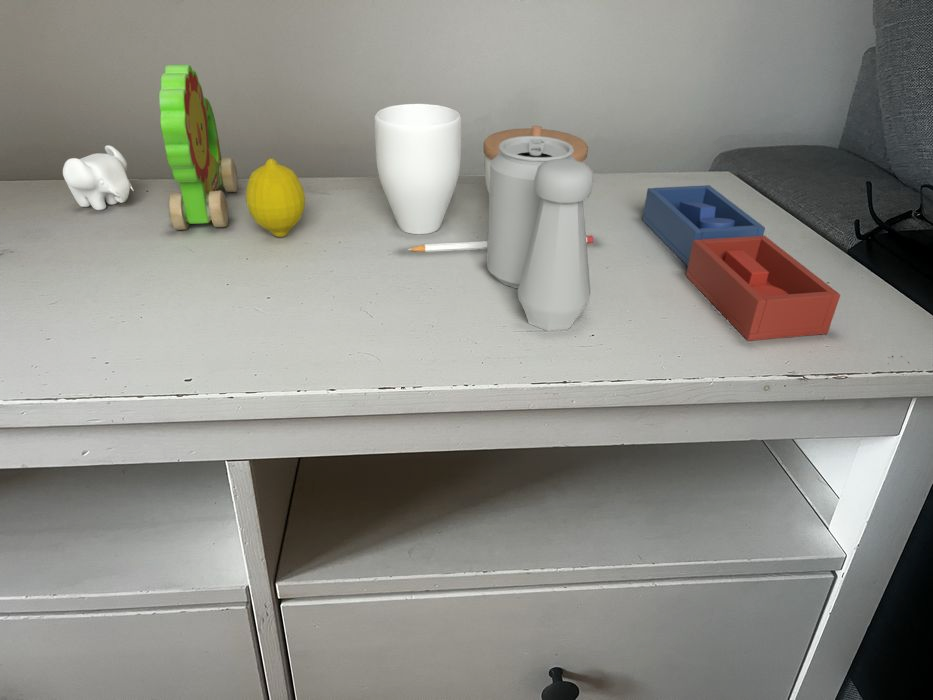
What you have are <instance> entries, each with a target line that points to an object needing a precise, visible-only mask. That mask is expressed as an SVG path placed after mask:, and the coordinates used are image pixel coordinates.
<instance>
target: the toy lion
mask: <svg viewBox="0 0 933 700" xmlns="http://www.w3.org/2000/svg"><path fill="white" fill-rule="evenodd" d="M158 97H159V98H158V103H159V111H160V119H159V122H160V130H161V135H162V139H163V143H164V149H165V157H166V161H167V163H168V165H169V168H170V169H171V172H172V176H173V179H174V181H175V182H176V183H179V188H180V192H174V193H170V195H169V198H168V199H169V200H168V211H169V212H168V213H169V218H170V221H171V224H172V228H173V229H175V230H176V231H178V230H180V231H181V230H188V229H189V228H190V224H192V225H193V224H194V225H195V224H197V225H199V224H209V223H210V222H212V225H213V227H214V228H226V227H228V225H229V208H228V203H227V199H226V196H225V194H224V191H223V190H221V188H222V187H223V189H224V190H225V192H226V193H237V191H238V187H239V178H238V177H239V176H238V171H237V167H236V163H235V161H234V159H233V158H232V157H222V152H221V147H220V140H219V133H218V129H217V128H218V127H217V123H216V118H215V115H214V111H213V108H212V107H213V106H212V105H211V103H210V101H209V99H208V98H206V97H205V96H204V92H203V88H202V85H201V83H200V81H199V76H198V74H197V72H196V70H193V68H192V66H191V65H190V64H167V65H165V67H164V73H162V74H161V77H160V90H159V92H158ZM217 189H220V190H217Z"/></svg>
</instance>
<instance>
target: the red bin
mask: <svg viewBox="0 0 933 700" xmlns="http://www.w3.org/2000/svg"><path fill="white" fill-rule="evenodd" d="M733 250H743V251H745V252H746V253H747V254H748V255H749V256H750V257H752V258H753V259H754V260H755V261H756V262H758V263H759V264H760V265H761V266H762V267H763V268H765V269H766V270H767V271H768V272H769V274H768V278H767V281H766V285H770V286H774V287H777V288H780V289H782V290H784V291H785V292H787V293H788V295H775V296H763V297H762V296H761V295H760V294H759V293H758V292H757V291H755V290H754V289H753V288H752V287H751V286H750V285H749V284H748V283H747V282H746V281H745V280H743V279H742V278H741V277H740V276H739V275H738V274H737V273H736V272H735V271H734V270H733V269H732V268H730V267H729V266H728V265H727V264H726V263H725V262H724V260H725V256H726V252H727V251H733ZM685 273H686V274H685V276H686V277H687V279H688V280H689V281H690V282H692V284H693V285H694V286H695V287H696V288H697V289H698V291H700V292H701V293H702V294H703V295H704V297H706V299H707V300H708V301H709V302H710V303H711V304H712V305H713V306H714V307H715V308H716V309H717V310H718V311H719V312H720V314H722V316H723V317H725V318H726V320H727V321H728V322H729V323H730V324H731V325H732V326H733V327H734V328H735V329H736V330H737V331H738V332H739V334H741V335H742V336H743V337H744V338H745V339H746V341H759V340H771V339H783V338H795V337H805V336H806V337H807V336H818V335H828V333H829V331H830V327H831V324H832V322H833V319H834V315H835V312H836V309H837V307H838V304H839V301H840V298H841V294H840V293H839V292H838V291H836V290H835V289H834V288H833V287H832V286H830V285H829V284H827V283H826V282H825V281H823V280H822V279H821V278H820V277H818V276H817V275H816V274H815V273H813V272H812V271H811V270H810V269H808V268H807V267H806V266H805V265H803V264H802V263H800V262H799V261H798V260H797V259H795V258H794V257H793V256H792V255H790V253H788V252H786V250H784V249H783V248H781V247H780V246H779V245H777V243H775V242H774V241H772V240H771V239H770V238H769V237H767V235H763V236H750V237H734V238H718V239H702V240H693V245H692V250H691V254H690V259H689V264H688V266H687V270H686V272H685Z"/></svg>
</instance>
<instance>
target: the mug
mask: <svg viewBox="0 0 933 700" xmlns="http://www.w3.org/2000/svg"><path fill="white" fill-rule="evenodd" d="M373 121H374V126H373V127H374V143H375V162H376V170H377V175H378V179H379V182H380V185H381V187H382V190H383V193H384V195H385V197H386V199H387V202H388V204H389V207H390V209H391V211H392V214H393V216H394V219H395V221H396V223H397V226H398V228H399V229H400V230H401V231H402V232H405V233H407V234H410V235H428V234H432V233H434V232H437V231H439V230H440V228H441V227H442V224H443V221H444V218H445V217H446V213H447V211H448V208H449V206H450V203H451V200H452V198H453V196H454V192H455V189H456V187H457V183H458V180H459V176H460V171H461V161H462V160H461V158H462V118H461V114H460V113H459V112H458V111H457V110H455V109H453V108H451V107H448V106H443V105H437V104H431V103H430V104H427V103H406V104H397V105H396V104H395V105H390V106H387V107H384V108H382V109H380V110H378V111H377V112H376V113H375V115H374V120H373Z"/></svg>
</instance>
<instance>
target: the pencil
mask: <svg viewBox="0 0 933 700" xmlns="http://www.w3.org/2000/svg"><path fill="white" fill-rule="evenodd" d="M594 241H595V240H594V236H593V235H586V244H593V243H594ZM487 244H488V240H483V241H464V242H445V243H426V244H425V243H424V244H421V245H417V246H413V247H410V248H407V251H411V252H417V253H418V252H419V253H433V252H434V253H435V252H450V251H451V252H452V251H454V252H455V251H469V250H471V251H472V250H487Z"/></svg>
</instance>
